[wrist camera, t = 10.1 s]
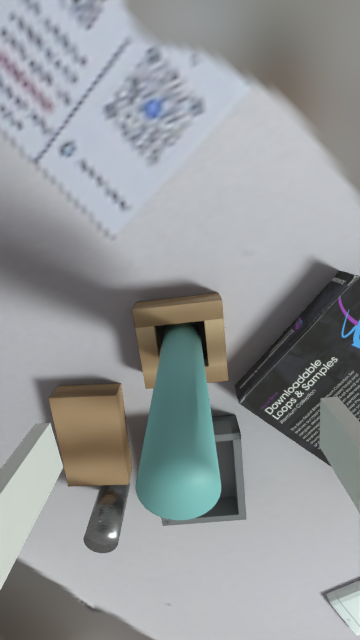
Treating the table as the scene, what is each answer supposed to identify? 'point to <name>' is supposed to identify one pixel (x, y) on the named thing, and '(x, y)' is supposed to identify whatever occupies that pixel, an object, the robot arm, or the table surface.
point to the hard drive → (347, 604)
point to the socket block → (176, 312)
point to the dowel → (179, 433)
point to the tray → (225, 475)
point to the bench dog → (106, 518)
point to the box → (310, 366)
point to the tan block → (92, 434)
